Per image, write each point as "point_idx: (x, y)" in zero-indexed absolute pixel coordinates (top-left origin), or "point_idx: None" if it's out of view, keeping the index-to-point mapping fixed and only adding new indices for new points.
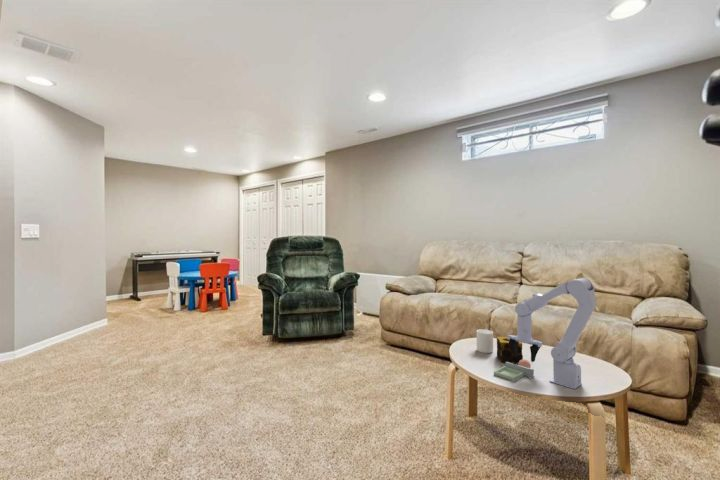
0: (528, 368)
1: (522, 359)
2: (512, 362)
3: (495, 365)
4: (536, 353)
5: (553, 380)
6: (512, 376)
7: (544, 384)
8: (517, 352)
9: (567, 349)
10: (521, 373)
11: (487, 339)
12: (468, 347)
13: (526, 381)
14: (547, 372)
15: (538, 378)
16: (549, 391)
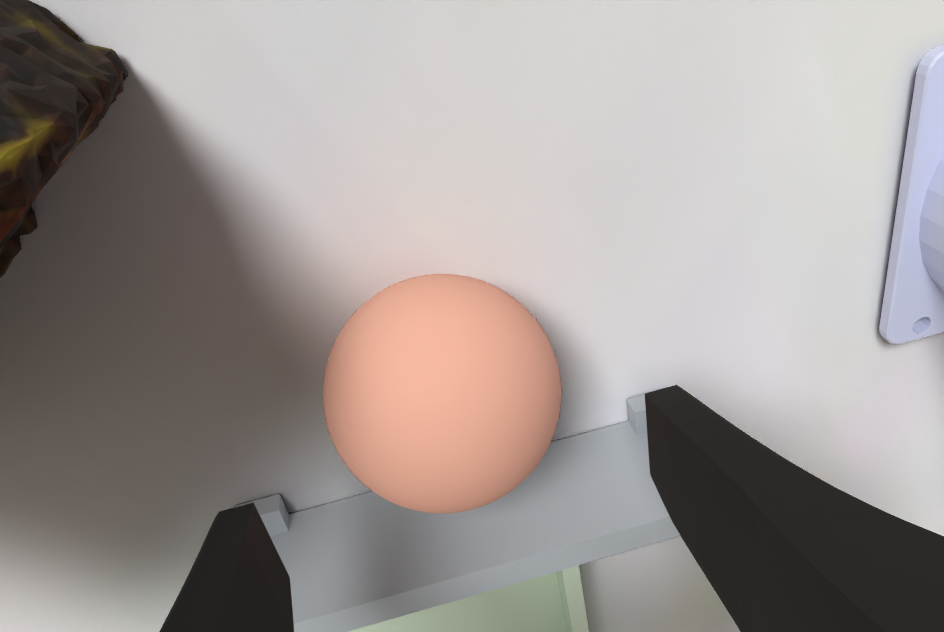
0: (654, 535)
1: (412, 473)
2: (3, 262)
3: (17, 567)
4: (830, 504)
5: (932, 299)
6: (502, 623)
7: (848, 442)
8: (245, 586)
9: None
10: (577, 570)
11: None
12: None
13: (666, 552)
14: (717, 3)
15: (723, 369)
16: (938, 519)
